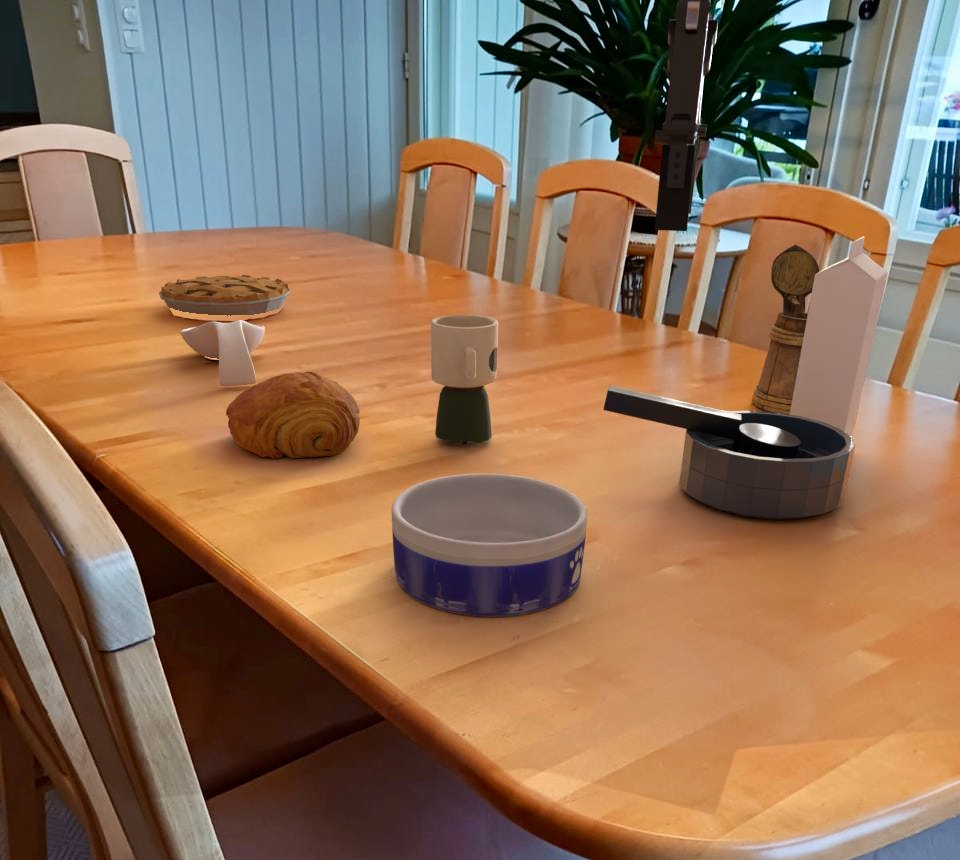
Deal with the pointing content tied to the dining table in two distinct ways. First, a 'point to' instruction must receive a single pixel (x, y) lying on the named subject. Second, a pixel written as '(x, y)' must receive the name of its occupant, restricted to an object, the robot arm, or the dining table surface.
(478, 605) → the dog bowl
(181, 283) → the pie
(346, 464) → the dining table surface
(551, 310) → the dining table surface
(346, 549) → the dining table surface
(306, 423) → the croissant
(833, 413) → the milk
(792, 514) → the serving bowl
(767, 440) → the ladle
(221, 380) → the spoon rest
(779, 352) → the brown wooden tall piece
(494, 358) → the character mug
